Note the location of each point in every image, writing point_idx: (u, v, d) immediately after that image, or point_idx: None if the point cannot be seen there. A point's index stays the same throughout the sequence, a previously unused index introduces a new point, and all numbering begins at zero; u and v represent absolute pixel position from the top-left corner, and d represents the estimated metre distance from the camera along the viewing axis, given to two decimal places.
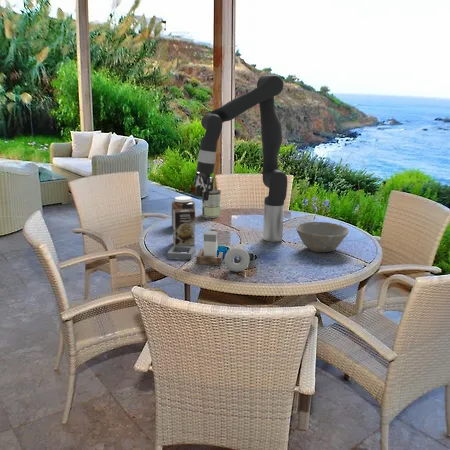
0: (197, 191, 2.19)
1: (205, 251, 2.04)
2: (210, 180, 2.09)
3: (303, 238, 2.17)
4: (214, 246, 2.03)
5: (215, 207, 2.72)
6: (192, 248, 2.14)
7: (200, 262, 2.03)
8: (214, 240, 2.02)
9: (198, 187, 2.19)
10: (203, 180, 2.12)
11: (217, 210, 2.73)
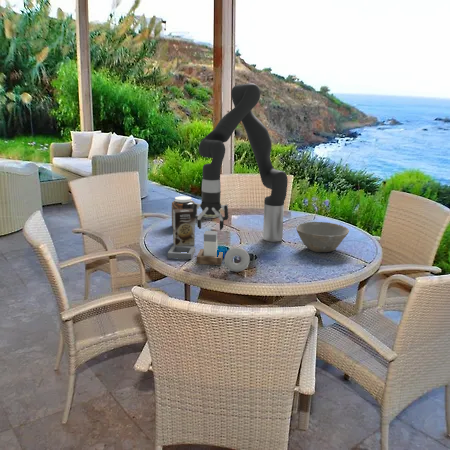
0: (200, 223, 2.03)
1: (205, 251, 2.04)
2: (227, 208, 2.00)
3: (303, 238, 2.17)
4: (214, 246, 2.03)
5: None
6: (192, 248, 2.14)
7: (200, 262, 2.03)
8: (214, 240, 2.02)
9: (200, 219, 2.03)
10: (216, 210, 2.00)
11: None
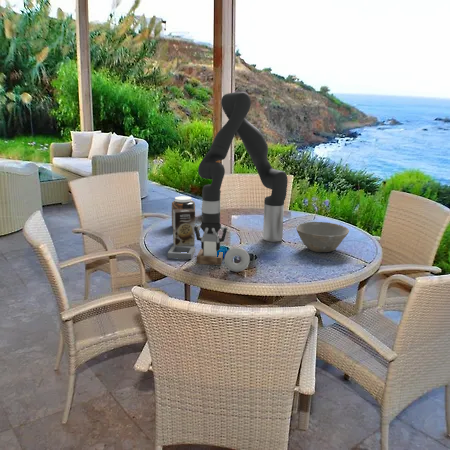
0: None
1: (205, 251, 2.04)
2: (226, 230, 2.03)
3: (303, 238, 2.17)
4: (214, 246, 2.03)
5: None
6: (192, 248, 2.14)
7: (200, 262, 2.03)
8: (214, 240, 2.02)
9: None
10: (215, 231, 2.02)
11: None
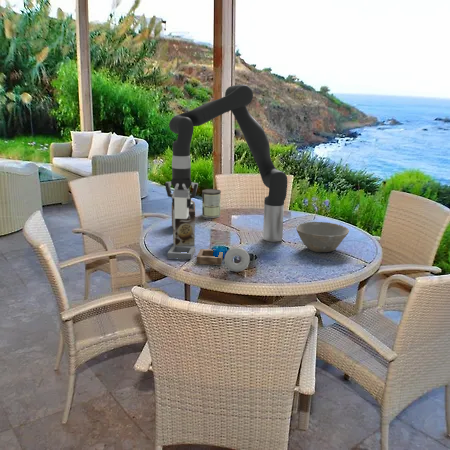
0: None
1: (176, 207, 2.04)
2: (197, 186, 2.03)
3: (303, 238, 2.17)
4: (185, 202, 2.03)
5: (215, 207, 2.72)
6: (192, 248, 2.14)
7: (200, 262, 2.03)
8: (184, 196, 2.03)
9: None
10: (186, 187, 2.03)
11: (217, 210, 2.73)
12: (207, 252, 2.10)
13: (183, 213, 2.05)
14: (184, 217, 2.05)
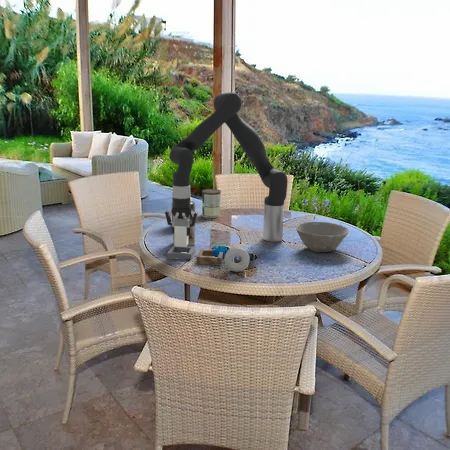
0: None
1: (176, 236, 2.08)
2: (196, 215, 2.07)
3: (303, 238, 2.17)
4: (184, 231, 2.07)
5: (215, 207, 2.72)
6: (192, 248, 2.14)
7: (200, 262, 2.03)
8: (184, 225, 2.06)
9: None
10: (186, 216, 2.06)
11: (217, 210, 2.73)
12: (207, 252, 2.10)
13: (182, 241, 2.08)
14: (184, 245, 2.09)
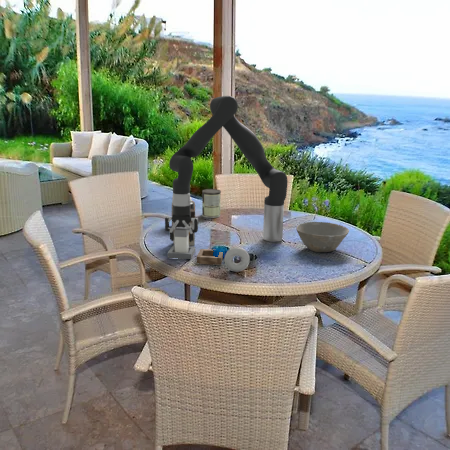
0: (173, 236, 2.10)
1: (176, 246, 2.09)
2: (197, 221, 2.07)
3: (303, 238, 2.17)
4: (185, 241, 2.08)
5: (215, 207, 2.72)
6: (192, 248, 2.14)
7: (200, 262, 2.03)
8: (184, 236, 2.07)
9: None
10: (186, 223, 2.07)
11: (217, 210, 2.73)
12: (207, 252, 2.10)
13: (183, 252, 2.09)
14: None
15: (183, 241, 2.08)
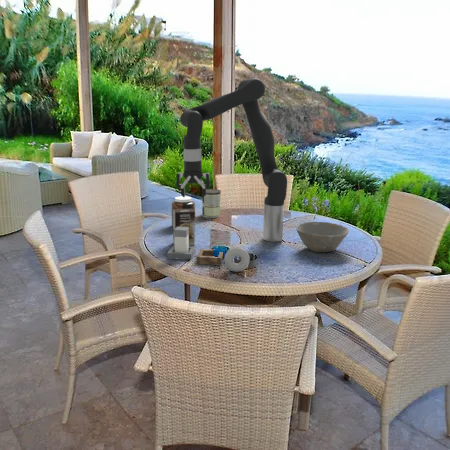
0: (184, 192, 2.13)
1: (176, 246, 2.09)
2: (209, 176, 2.10)
3: (303, 238, 2.17)
4: (185, 241, 2.08)
5: (215, 207, 2.72)
6: (192, 248, 2.14)
7: (200, 262, 2.03)
8: (184, 236, 2.07)
9: None
10: (198, 178, 2.09)
11: (217, 210, 2.73)
12: (207, 252, 2.10)
13: (183, 252, 2.09)
14: None
15: (183, 241, 2.08)
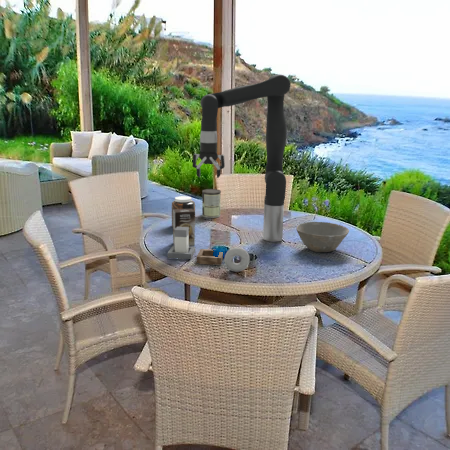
0: (199, 172, 2.24)
1: (176, 246, 2.09)
2: (223, 157, 2.21)
3: (303, 238, 2.17)
4: (185, 241, 2.08)
5: (215, 207, 2.72)
6: (192, 248, 2.14)
7: (200, 262, 2.03)
8: (184, 236, 2.07)
9: (199, 168, 2.24)
10: (213, 159, 2.21)
11: (217, 210, 2.73)
12: (207, 252, 2.10)
13: (183, 252, 2.09)
14: None
15: (183, 241, 2.08)
